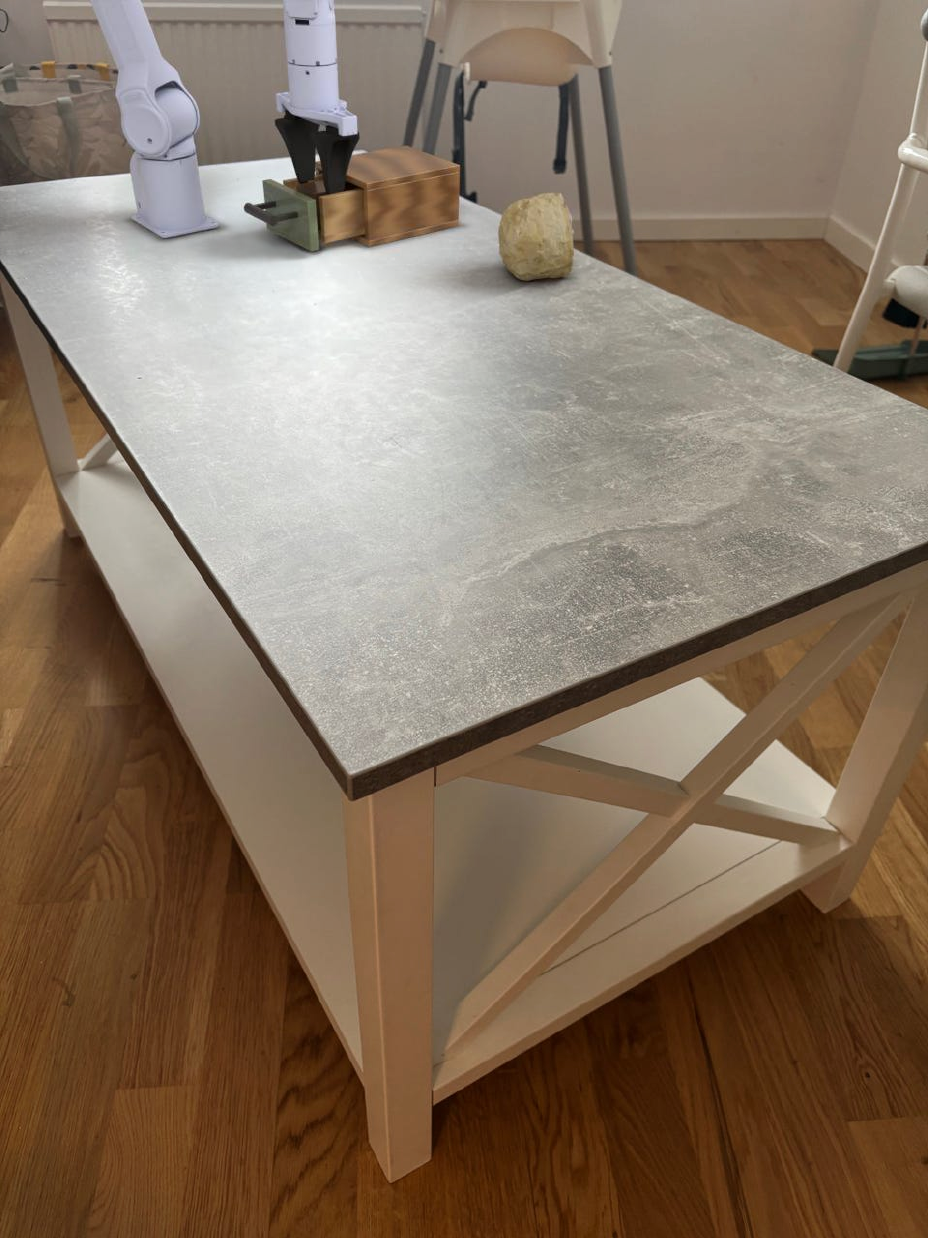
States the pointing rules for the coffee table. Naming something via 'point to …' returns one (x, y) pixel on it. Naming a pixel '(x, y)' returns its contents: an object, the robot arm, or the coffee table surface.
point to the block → (313, 194)
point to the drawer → (310, 213)
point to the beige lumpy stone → (537, 237)
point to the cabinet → (404, 193)
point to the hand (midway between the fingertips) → (320, 186)
